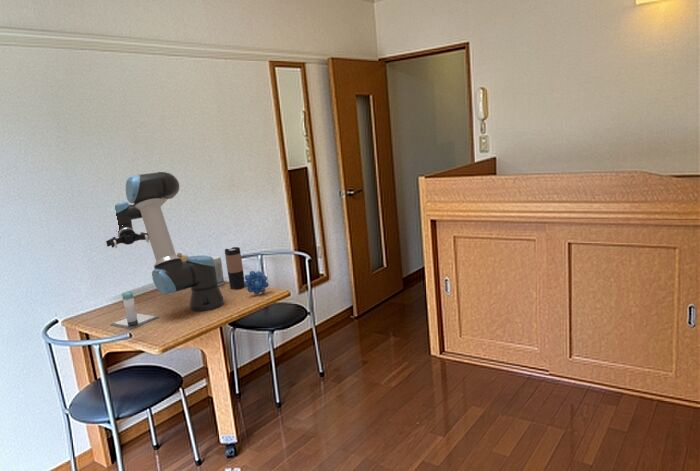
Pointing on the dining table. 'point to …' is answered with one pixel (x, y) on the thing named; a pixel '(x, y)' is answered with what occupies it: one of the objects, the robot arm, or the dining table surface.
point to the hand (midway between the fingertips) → (132, 242)
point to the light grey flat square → (140, 317)
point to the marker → (130, 308)
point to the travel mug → (234, 268)
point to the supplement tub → (218, 270)
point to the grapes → (256, 282)
